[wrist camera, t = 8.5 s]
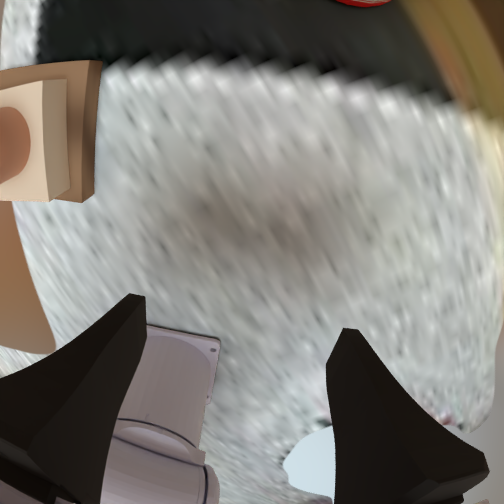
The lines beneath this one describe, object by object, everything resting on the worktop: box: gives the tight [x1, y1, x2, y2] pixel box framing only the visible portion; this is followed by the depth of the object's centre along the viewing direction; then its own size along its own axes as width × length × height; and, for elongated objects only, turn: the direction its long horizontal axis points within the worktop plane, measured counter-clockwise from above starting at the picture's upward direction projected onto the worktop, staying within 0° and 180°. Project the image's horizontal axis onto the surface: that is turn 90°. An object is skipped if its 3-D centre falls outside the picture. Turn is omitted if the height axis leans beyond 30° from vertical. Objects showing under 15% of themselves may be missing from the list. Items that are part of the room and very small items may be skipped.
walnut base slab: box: [0, 60, 103, 203], centre depth 17 cm, size 9×9×2 cm
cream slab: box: [0, 79, 70, 202], centre depth 15 cm, size 7×7×2 cm
